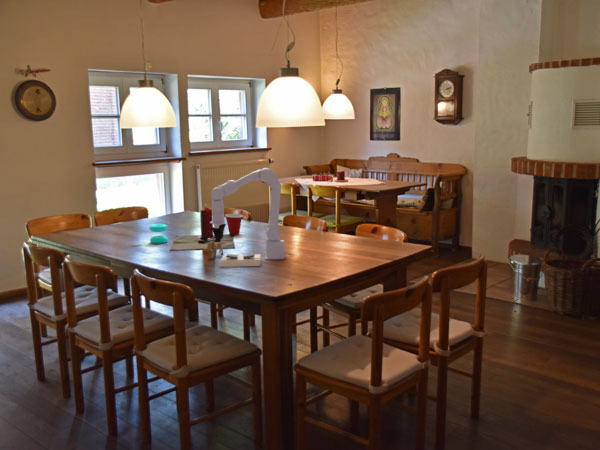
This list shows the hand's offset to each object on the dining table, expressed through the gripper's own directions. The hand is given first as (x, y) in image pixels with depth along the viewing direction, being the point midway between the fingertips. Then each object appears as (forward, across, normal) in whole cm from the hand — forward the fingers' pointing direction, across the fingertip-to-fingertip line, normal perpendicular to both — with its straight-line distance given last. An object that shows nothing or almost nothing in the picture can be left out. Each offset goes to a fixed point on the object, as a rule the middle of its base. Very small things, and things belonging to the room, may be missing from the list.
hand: (219, 240), depth 275 cm
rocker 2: (+6, +10, +15) cm, 19 cm away
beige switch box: (+10, +8, +11) cm, 17 cm away
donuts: (+10, -47, -41) cm, 63 cm away
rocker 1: (+6, +10, +7) cm, 14 cm away
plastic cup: (+10, -66, 0) cm, 67 cm away
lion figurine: (+10, -7, -3) cm, 13 cm away
